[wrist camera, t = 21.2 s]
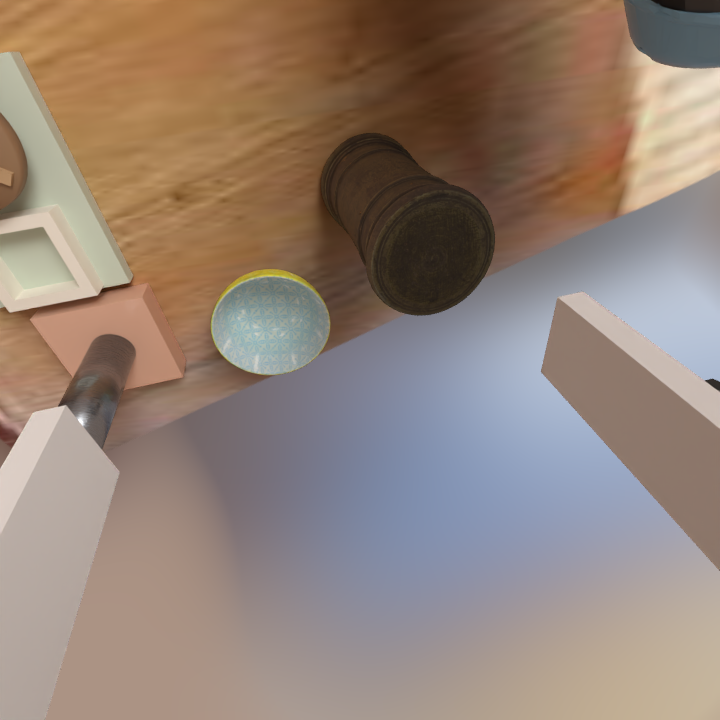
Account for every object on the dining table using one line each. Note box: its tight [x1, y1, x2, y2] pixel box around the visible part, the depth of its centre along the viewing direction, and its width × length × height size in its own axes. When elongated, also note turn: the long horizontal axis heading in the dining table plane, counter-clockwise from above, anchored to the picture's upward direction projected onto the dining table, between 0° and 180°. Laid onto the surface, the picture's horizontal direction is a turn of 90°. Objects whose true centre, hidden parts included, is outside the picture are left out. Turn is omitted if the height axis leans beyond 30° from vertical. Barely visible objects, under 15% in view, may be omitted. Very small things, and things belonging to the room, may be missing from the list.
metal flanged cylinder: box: [58, 334, 136, 449], centre depth 35 cm, size 5×5×15 cm
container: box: [321, 133, 495, 315], centre depth 32 cm, size 9×9×18 cm
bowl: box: [211, 269, 330, 375], centre depth 42 cm, size 11×12×6 cm
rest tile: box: [30, 283, 186, 390], centre depth 42 cm, size 10×10×3 cm
